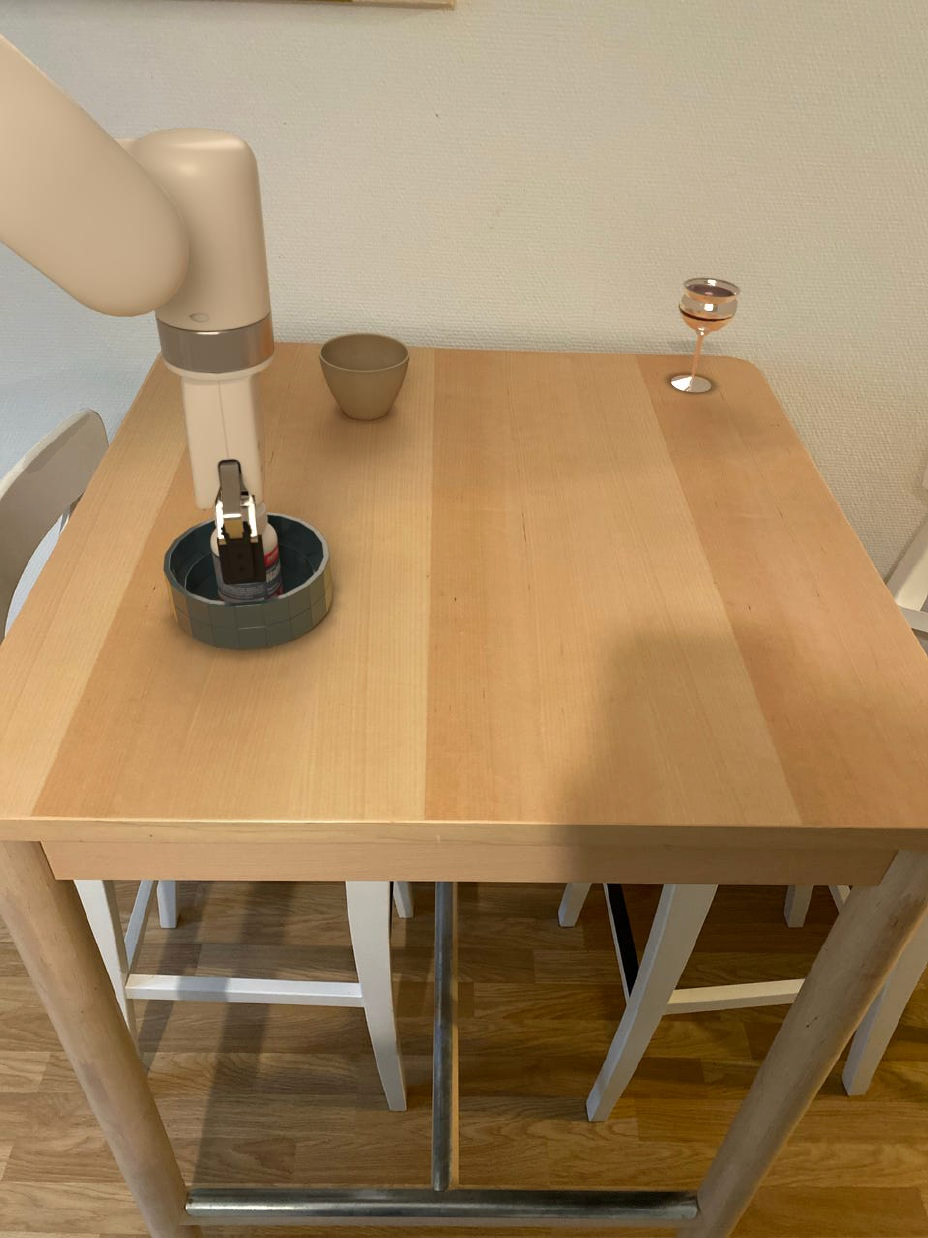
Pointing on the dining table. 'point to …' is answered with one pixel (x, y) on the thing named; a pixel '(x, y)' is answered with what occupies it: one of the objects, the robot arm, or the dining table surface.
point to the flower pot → (364, 372)
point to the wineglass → (705, 319)
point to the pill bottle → (272, 564)
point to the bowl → (252, 620)
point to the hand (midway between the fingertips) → (245, 544)
